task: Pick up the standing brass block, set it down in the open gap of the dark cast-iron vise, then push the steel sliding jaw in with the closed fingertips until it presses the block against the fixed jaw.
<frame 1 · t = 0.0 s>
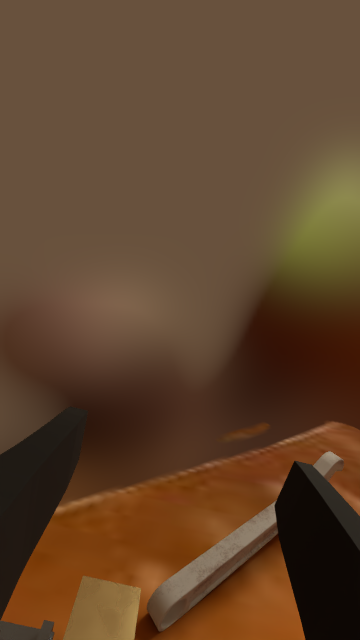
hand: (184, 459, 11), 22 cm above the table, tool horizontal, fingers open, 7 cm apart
wrench: (258, 548, 34), on the table
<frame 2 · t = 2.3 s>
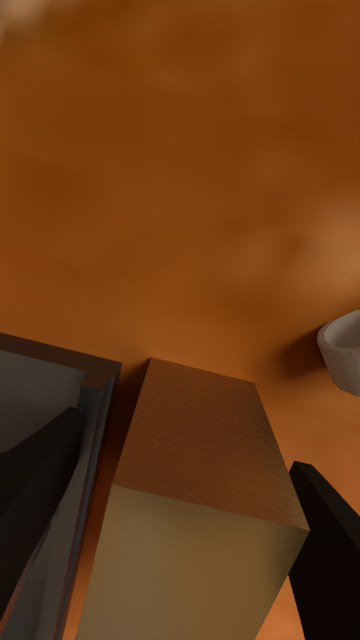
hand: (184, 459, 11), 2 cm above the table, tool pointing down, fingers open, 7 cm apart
brass block: (186, 424, 13), on the table
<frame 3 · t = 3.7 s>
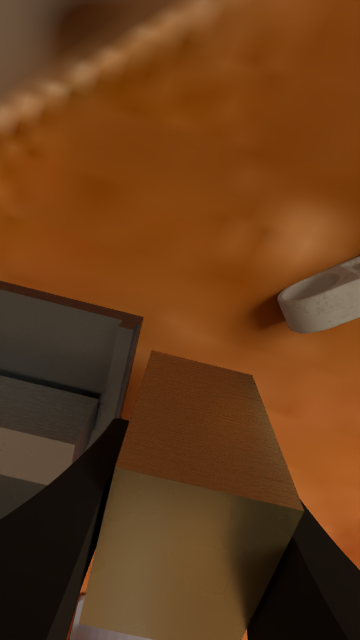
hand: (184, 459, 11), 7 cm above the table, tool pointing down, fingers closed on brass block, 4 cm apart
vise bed: (16, 429, 19), on the table
brass block: (186, 416, 13), point 5 cm above the table, touching gripper
when the fingers open (4 cm above the table, at t = 5.8 s): brass block stays where it is, resting on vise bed.
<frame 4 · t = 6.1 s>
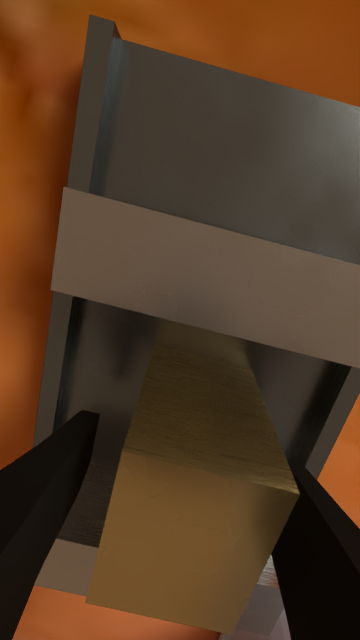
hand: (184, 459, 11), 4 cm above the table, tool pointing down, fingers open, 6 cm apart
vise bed: (204, 337, 14), on the table
brass block: (187, 410, 13), point 1 cm above the table, touching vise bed
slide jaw: (237, 277, 10), point 3 cm above the table, slide at 0.0 cm
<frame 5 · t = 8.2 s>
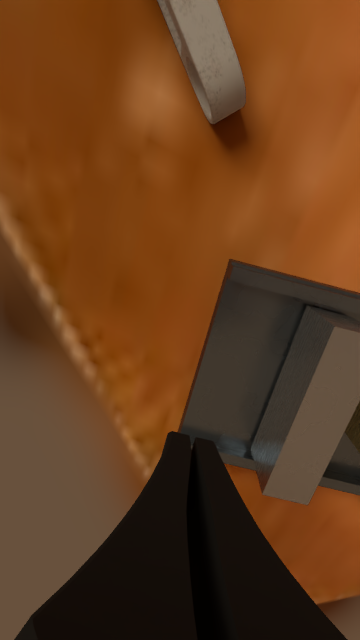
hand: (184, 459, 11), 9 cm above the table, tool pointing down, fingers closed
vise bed: (338, 387, 20), on the table
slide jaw: (307, 404, 17), point 3 cm above the table, slide at 0.0 cm
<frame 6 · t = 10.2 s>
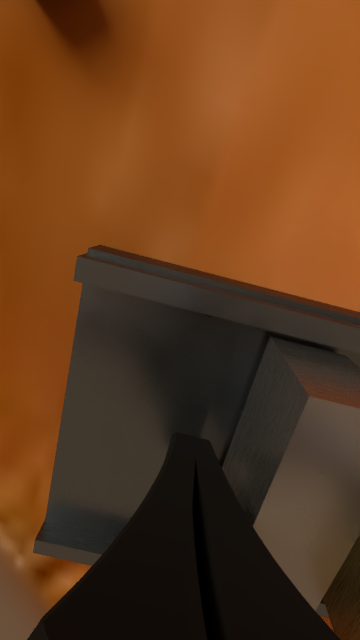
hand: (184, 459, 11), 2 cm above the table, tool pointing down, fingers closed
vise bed: (292, 448, 13), on the table
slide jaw: (270, 508, 10), point 3 cm above the table, slide at 1.6 cm, touching gripper
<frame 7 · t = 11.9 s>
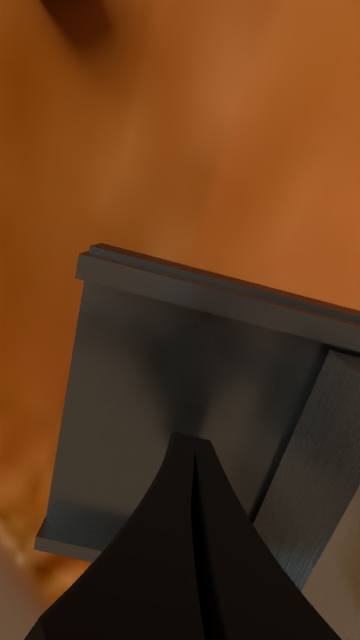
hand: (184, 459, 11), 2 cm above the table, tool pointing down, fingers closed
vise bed: (291, 446, 13), on the table
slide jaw: (330, 520, 10), point 3 cm above the table, slide at 3.5 cm, touching brass block
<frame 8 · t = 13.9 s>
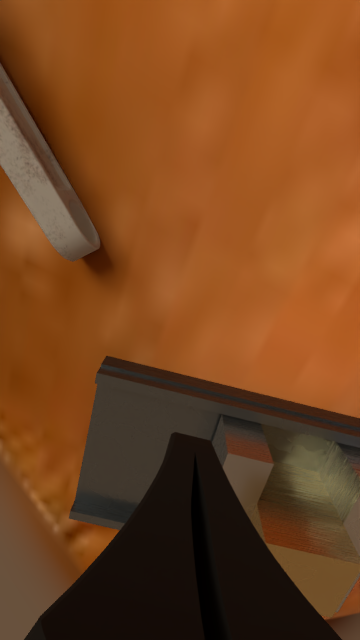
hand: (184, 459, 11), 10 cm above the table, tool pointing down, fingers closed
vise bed: (214, 460, 23), on the table
brass block: (272, 486, 22), point 1 cm above the table, touching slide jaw, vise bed
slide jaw: (221, 499, 20), point 3 cm above the table, slide at 3.5 cm, touching brass block
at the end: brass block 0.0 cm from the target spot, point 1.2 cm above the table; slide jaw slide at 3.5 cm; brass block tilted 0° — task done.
